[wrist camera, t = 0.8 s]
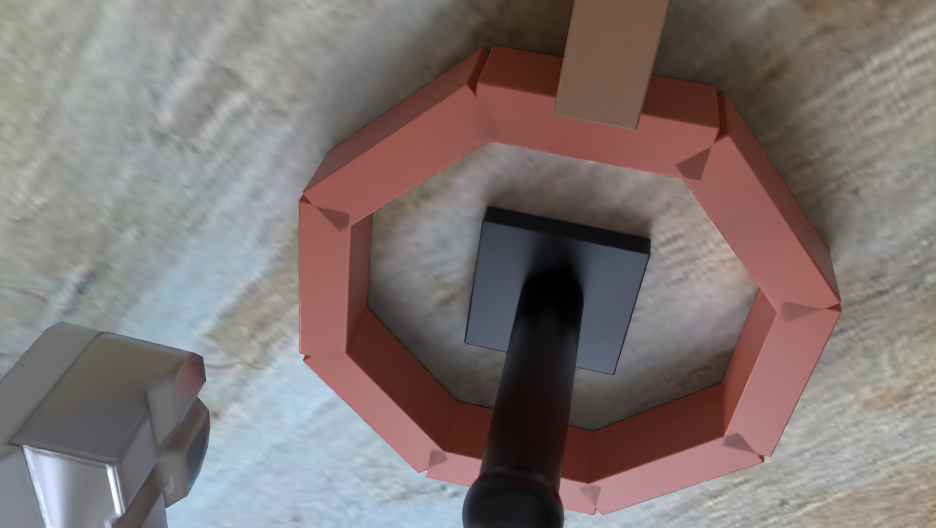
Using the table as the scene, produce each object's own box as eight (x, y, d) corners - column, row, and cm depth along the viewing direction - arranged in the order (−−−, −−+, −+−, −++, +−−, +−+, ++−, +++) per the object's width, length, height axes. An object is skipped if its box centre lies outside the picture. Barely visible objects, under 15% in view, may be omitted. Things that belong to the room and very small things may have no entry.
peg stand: (487, 205, 27) (405, 461, 19) (651, 238, 26) (640, 514, 18) (468, 328, 30) (391, 594, 22) (615, 359, 29) (592, 643, 21)
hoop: (331, -208, 21) (278, -181, 18) (994, -99, 20) (1046, -51, 17) (320, 401, 33) (287, 472, 30) (724, 491, 32) (729, 574, 29)
